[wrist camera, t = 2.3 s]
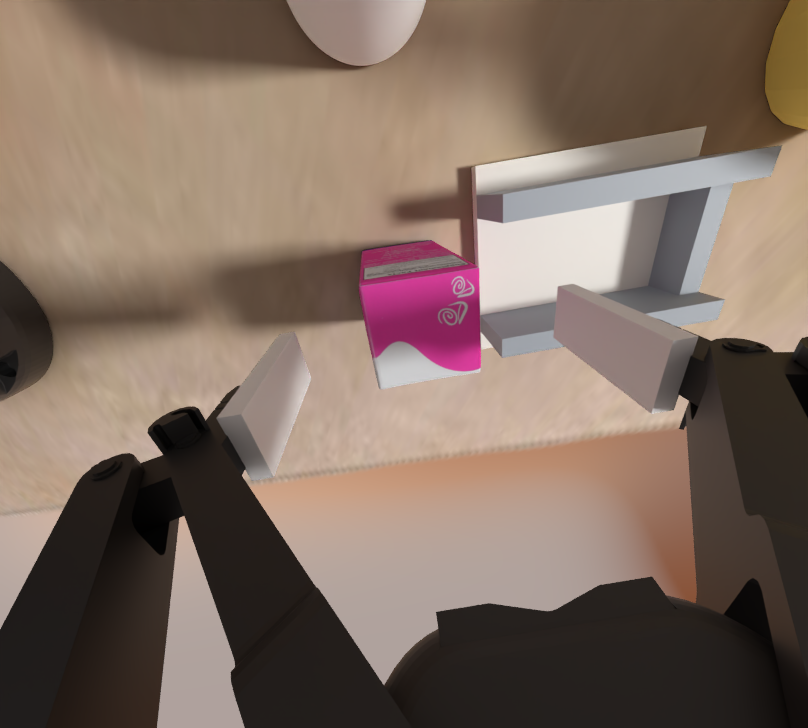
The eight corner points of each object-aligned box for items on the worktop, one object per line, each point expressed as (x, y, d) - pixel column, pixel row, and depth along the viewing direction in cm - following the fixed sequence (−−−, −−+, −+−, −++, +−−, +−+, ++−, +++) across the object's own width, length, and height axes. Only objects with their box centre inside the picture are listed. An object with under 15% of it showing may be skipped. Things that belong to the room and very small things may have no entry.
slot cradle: (477, 344, 28) (502, 378, 23) (471, 167, 21) (503, 156, 16) (646, 314, 28) (709, 341, 23) (693, 128, 22) (796, 105, 16)
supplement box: (440, 309, 26) (482, 377, 16) (372, 319, 26) (373, 394, 16) (435, 237, 23) (482, 266, 13) (359, 248, 23) (349, 286, 13)
